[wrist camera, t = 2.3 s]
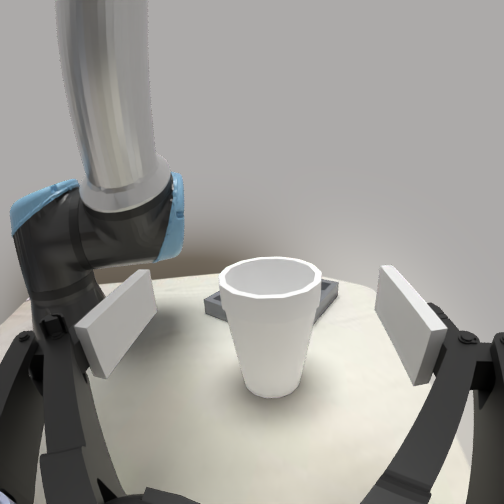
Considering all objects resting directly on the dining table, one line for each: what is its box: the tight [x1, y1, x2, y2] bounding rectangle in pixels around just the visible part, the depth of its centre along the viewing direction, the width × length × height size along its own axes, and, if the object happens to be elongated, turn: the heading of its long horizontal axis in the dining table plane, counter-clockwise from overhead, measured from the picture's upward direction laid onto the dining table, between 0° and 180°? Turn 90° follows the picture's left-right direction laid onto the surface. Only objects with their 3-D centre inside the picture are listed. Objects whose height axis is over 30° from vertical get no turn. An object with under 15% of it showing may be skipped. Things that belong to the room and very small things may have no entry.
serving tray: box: [204, 279, 339, 324], centre depth 46 cm, size 16×16×2 cm
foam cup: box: [218, 257, 322, 398], centre depth 28 cm, size 10×9×13 cm
